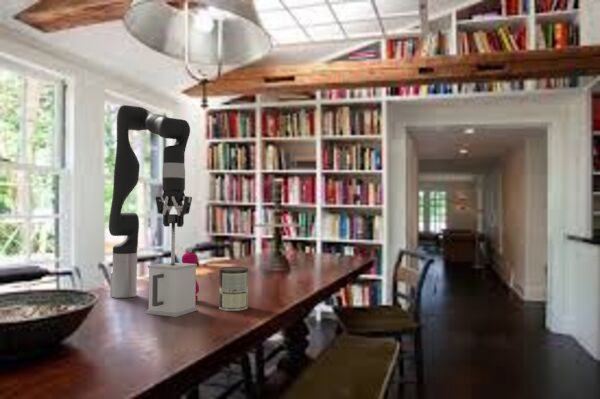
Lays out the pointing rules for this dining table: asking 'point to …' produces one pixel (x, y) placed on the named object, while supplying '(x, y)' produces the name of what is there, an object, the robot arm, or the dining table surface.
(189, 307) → the white cabinet
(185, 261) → the pepper mill
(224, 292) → the coffee can
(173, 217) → the grey thin rod
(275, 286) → the dining table surface
